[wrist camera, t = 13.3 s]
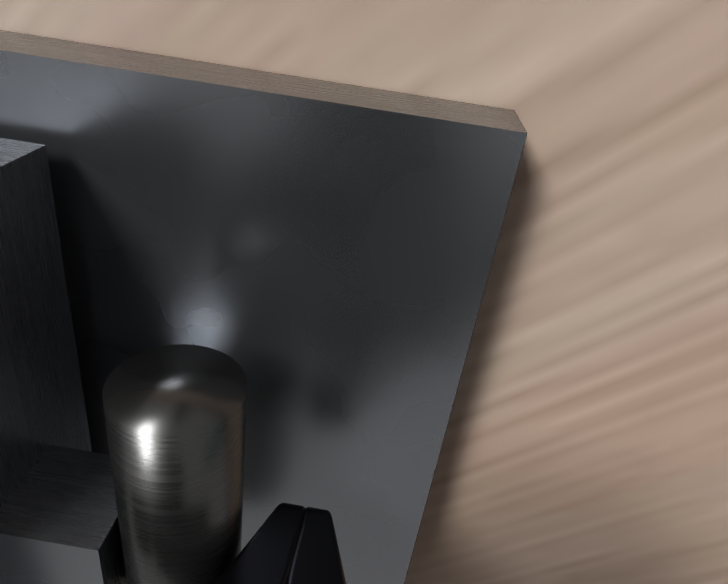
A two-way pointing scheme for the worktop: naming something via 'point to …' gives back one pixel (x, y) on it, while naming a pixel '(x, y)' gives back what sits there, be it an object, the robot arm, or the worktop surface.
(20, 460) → the sliding jaw
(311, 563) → the robot arm
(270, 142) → the vise base
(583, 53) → the worktop surface
